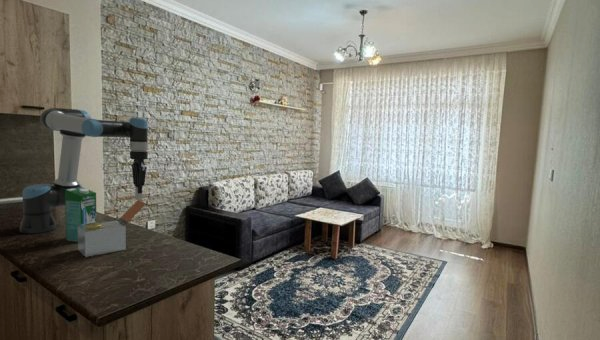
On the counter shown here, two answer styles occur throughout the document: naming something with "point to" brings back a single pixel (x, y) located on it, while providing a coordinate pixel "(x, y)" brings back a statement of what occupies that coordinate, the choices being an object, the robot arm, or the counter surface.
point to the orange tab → (132, 212)
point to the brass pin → (94, 225)
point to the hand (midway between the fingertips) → (138, 199)
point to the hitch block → (102, 239)
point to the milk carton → (79, 210)
